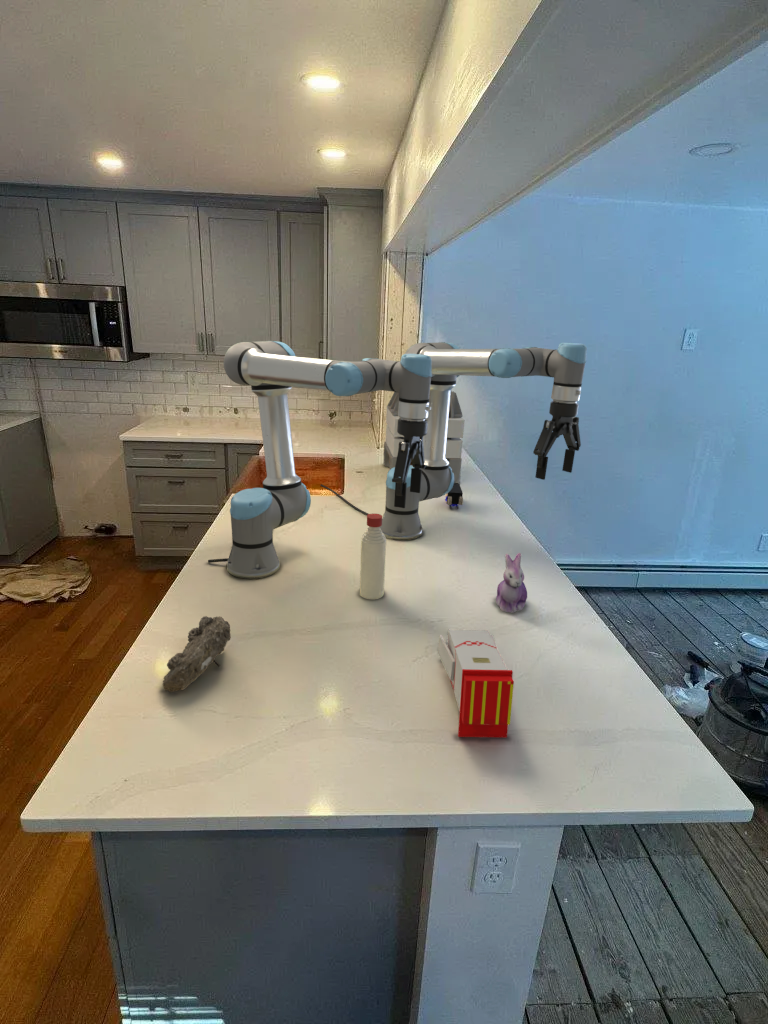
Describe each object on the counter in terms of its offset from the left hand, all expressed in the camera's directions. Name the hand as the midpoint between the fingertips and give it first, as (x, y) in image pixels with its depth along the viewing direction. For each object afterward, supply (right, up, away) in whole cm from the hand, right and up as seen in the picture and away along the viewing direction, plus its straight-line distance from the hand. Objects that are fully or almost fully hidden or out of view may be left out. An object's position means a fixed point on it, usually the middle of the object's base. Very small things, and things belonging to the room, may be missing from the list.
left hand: (407, 499), depth 148 cm
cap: (-9, -5, +1) cm, 10 cm away
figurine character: (+22, -1, +84) cm, 87 cm away
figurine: (+28, -29, +6) cm, 41 cm away
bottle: (-10, -26, +9) cm, 29 cm away
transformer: (+11, +15, +127) cm, 128 cm away
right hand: (+43, +7, +16) cm, 47 cm away
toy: (+12, -41, -30) cm, 52 cm away
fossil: (-46, -37, -25) cm, 64 cm away
